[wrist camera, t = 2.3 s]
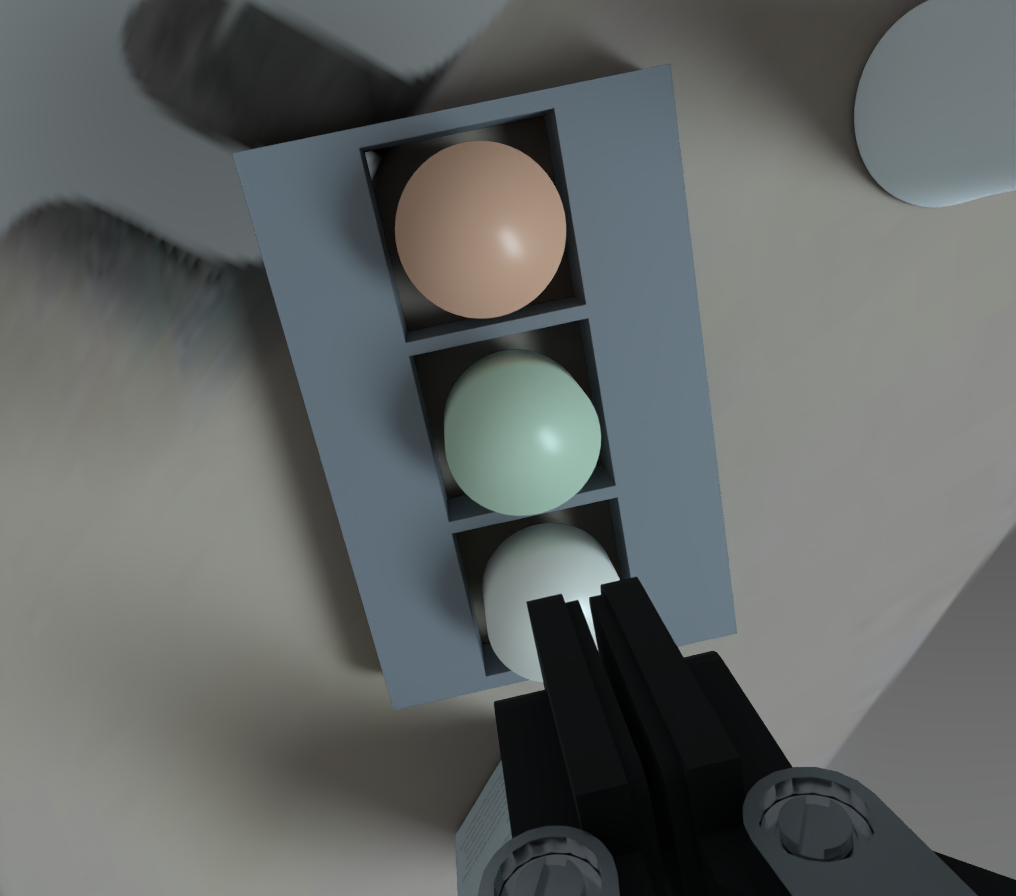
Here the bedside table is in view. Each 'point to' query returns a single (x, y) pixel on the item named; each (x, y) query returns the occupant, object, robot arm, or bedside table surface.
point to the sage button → (520, 433)
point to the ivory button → (539, 586)
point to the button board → (390, 347)
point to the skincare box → (482, 834)
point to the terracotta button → (480, 229)
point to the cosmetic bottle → (942, 103)
